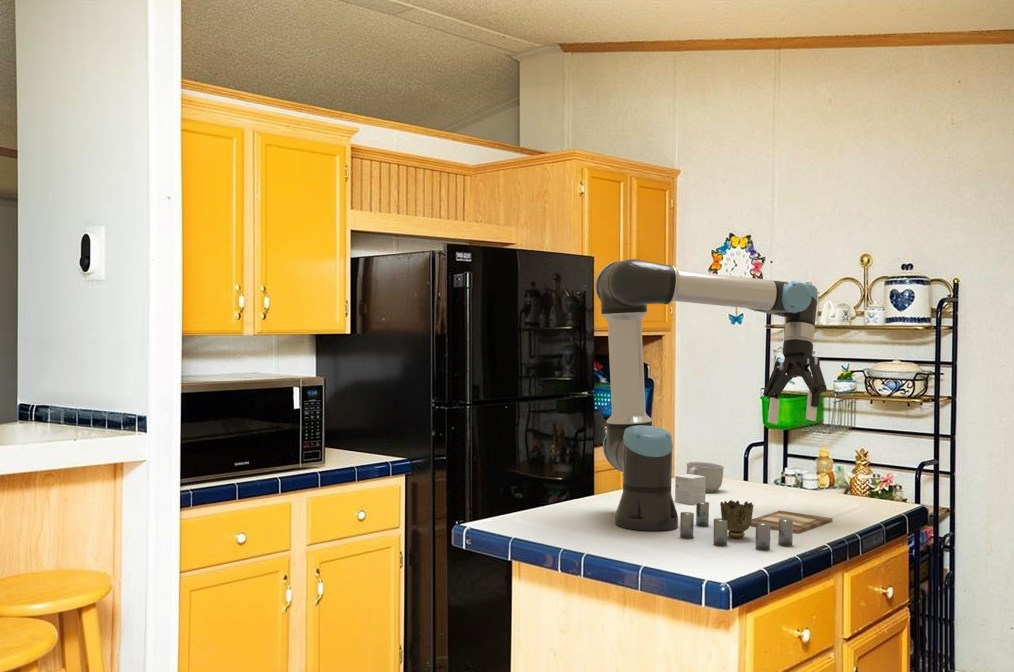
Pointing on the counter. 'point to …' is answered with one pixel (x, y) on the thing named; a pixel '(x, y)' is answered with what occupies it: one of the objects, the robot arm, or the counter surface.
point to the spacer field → (722, 525)
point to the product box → (690, 488)
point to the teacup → (707, 473)
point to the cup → (737, 517)
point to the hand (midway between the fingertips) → (791, 421)
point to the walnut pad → (799, 520)
